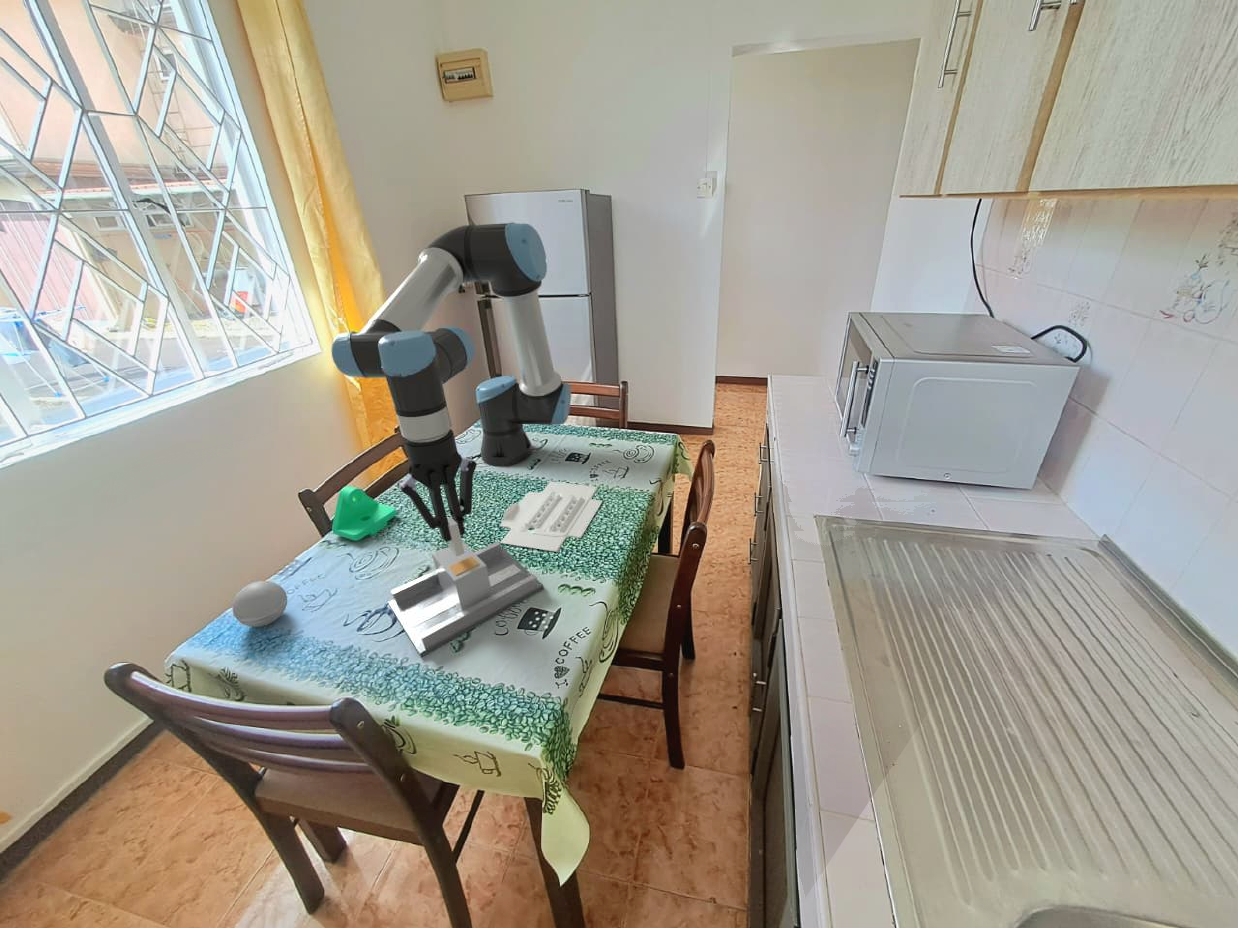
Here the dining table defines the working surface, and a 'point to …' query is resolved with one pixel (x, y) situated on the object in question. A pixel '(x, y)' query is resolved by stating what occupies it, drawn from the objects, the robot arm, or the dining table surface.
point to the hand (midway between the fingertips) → (457, 551)
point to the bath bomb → (259, 603)
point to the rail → (437, 616)
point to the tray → (550, 516)
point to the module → (462, 577)
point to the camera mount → (359, 514)
